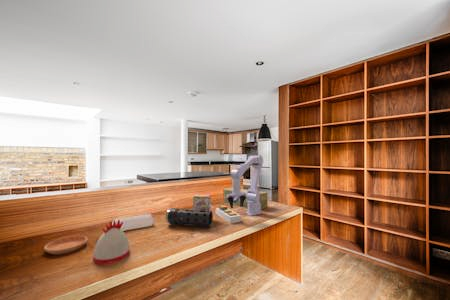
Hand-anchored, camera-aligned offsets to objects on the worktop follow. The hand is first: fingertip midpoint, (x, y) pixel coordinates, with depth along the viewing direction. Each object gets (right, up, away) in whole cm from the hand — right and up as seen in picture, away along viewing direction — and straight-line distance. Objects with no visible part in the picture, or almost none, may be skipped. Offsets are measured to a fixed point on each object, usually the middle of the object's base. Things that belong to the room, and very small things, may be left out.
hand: (236, 207), depth 134 cm
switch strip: (-6, -9, +5) cm, 11 cm away
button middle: (-6, -7, +5) cm, 10 cm away
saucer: (-83, -8, -41) cm, 93 cm away
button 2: (-3, -7, -2) cm, 8 cm away
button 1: (-9, -6, +11) cm, 15 cm away
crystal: (-64, -8, -15) cm, 66 cm away
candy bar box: (-24, -9, 0) cm, 25 cm away
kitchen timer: (-58, -7, -48) cm, 75 cm away
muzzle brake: (-30, -8, -12) cm, 34 cm away
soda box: (+9, -10, +41) cm, 43 cm away
